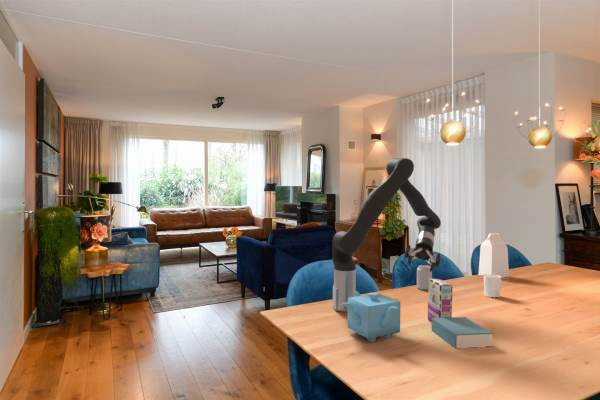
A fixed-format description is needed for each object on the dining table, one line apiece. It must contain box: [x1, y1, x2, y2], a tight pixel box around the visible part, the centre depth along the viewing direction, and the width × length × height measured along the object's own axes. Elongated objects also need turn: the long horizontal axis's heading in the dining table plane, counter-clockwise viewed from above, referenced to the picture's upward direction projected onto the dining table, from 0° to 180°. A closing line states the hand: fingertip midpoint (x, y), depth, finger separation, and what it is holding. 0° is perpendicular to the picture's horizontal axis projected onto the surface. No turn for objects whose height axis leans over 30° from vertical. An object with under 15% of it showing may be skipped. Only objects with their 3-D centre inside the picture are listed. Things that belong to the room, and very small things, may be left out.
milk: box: [478, 232, 510, 277], centre depth 234 cm, size 12×12×26 cm
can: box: [416, 264, 433, 291], centre depth 203 cm, size 8×8×12 cm
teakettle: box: [342, 290, 401, 343], centre depth 137 cm, size 19×19×15 cm
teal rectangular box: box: [431, 316, 493, 349], centre depth 135 cm, size 13×16×5 cm
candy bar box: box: [427, 278, 453, 323], centre depth 149 cm, size 11×5×16 cm, turn 5°
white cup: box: [483, 274, 502, 299], centre depth 190 cm, size 8×8×10 cm
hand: (420, 266), depth 159 cm, fingers open, 8 cm apart
